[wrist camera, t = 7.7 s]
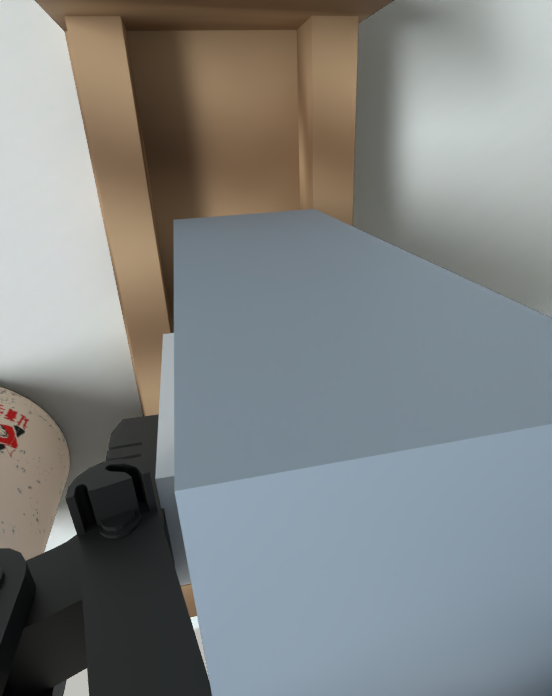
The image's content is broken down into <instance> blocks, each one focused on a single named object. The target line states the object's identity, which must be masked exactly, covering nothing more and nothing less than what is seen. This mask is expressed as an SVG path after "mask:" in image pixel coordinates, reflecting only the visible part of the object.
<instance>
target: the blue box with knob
mask: <svg viewBox="0 0 552 696" xmlns="http://www.w3.org/2000/svg"><path fill="white" fill-rule="evenodd" d="M174 492H175V497H176V503H177V508H178V514H179V519H180V524H181V530H182V535H183V541H184V546H185V552H186V557H187V562H188V568H189V573H190V579H191V584H192V589H193V595H194V600H195V606H196V611H197V617H198V622H199V627H200V633H201V638H202V644H203V649H204V654H205V660H206V665H207V671H208V676H209V682H210V687H211V692H212V696H552V318H551V317H548V316H546V315H544V314H542V313H540V312H538V311H535V310H533V309H531V308H529V307H527V306H525V305H522V304H520V303H518V302H516V301H514V300H511V299H509V298H507V297H505V296H503V295H501V294H498V293H496V292H494V291H492V290H490V289H488V288H485V287H483V286H481V285H479V284H477V283H475V282H472V281H470V280H468V279H466V278H464V277H461V276H459V275H457V274H455V273H453V272H451V271H448V270H446V269H444V268H442V267H440V266H438V265H435V264H433V263H431V262H429V261H427V260H424V259H422V258H420V257H418V256H416V255H414V254H411V253H409V252H407V251H405V250H403V249H401V248H398V247H396V246H394V245H392V244H390V243H388V242H385V241H383V240H381V239H379V238H377V237H374V236H372V235H370V234H368V233H366V232H364V231H361V230H359V229H357V228H355V227H353V226H351V225H348V224H346V223H344V222H342V221H340V220H337V219H335V218H333V217H331V216H329V215H327V214H324V213H322V212H320V211H318V210H316V209H307V210H294V211H281V212H268V213H254V214H241V215H228V216H215V217H202V218H189V219H176V220H174Z"/></svg>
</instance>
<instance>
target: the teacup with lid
mask: <svg viewBox="0 0 552 696" xmlns="http://www.w3.org/2000/svg"><path fill="white" fill-rule="evenodd" d="M69 467H70V456H69V450H68V446H67V443H66V440H65V438H64V436H63V434H62V432H61V430H60V428H59V427H58V425H57V424H56V423H55V421H54V420H53V419H52V418H51V417H50V416H49V415H48V414H47V413H46V412H45V411H44V410H43V409H42V408H40V407H39V406H38V405H36V404H35V403H34V402H32V401H30V400H29V399H27V398H25V397H23V396H21V395H19V394H17V393H15V392H13V391H10V390H8V389H5V388H2V387H0V548H11V549H13V550H16V551H18V552H20V553H21V554H22V555H23V557H24V559H25V561H26V560H28V559H31V558H33V557H35V556H38V555H40V554H42V553H44V551H45V548H46V544H47V541H48V538H49V535H50V532H51V528H52V525H53V522H54V519H55V516H56V513H57V509H58V506H59V503H60V500H61V497H62V493H63V490H64V487H65V484H66V481H67V478H68V473H69Z"/></svg>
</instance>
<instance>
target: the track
mask: <svg viewBox="0 0 552 696" xmlns="http://www.w3.org/2000/svg"><path fill="white" fill-rule="evenodd" d="M35 1H36V2H37V3H38V4H39V5H40V6H41V7H42V8H43V9H44V11H45V12H46V13H47V14H48V15H49V16H50V17H51V18H52V19H53V20H54V21H55V22H56V23H57V24H58V25H59V26H60V27H61V28H62V29H63V30H64V31H65V36H66V41H67V46H68V51H69V55H70V60H71V65H72V70H73V75H74V80H75V85H76V90H77V95H78V99H79V104H80V109H81V114H82V119H83V124H84V129H85V134H86V139H87V143H88V148H89V153H90V158H91V163H92V168H93V173H94V178H95V183H96V187H97V192H98V197H99V202H100V207H101V212H102V217H103V222H104V227H105V231H106V236H107V241H108V246H109V251H110V256H111V261H112V266H113V271H114V275H115V280H116V285H117V290H118V295H119V300H120V305H121V310H122V315H123V319H124V324H125V329H126V334H127V339H128V344H129V349H130V354H131V359H132V363H133V368H134V373H135V378H136V383H137V388H138V393H139V398H140V403H141V407H142V412H143V416H150V415H157V414H159V400H160V381H161V362H162V344H163V334H168V333H174V220H176V219H189V218H202V217H215V216H228V215H241V214H254V213H268V212H281V211H294V210H307V209H316V210H318V211H320V212H322V213H324V214H327V215H329V216H331V217H333V218H335V219H337V220H340V221H342V222H344V223H346V224H348V225H351V226H352V222H353V188H354V154H355V120H356V87H357V53H358V23H360V22H361V21H363V20H364V19H366V18H368V17H369V16H371V15H372V14H374V13H375V12H377V11H378V10H380V9H382V8H383V7H385V6H386V5H388V4H389V3H391V2H392V1H394V0H35ZM181 589H182V592H183V596H184V599H185V602H186V606H187V609H188V612H189V616H190V617H194V616H197V611H196V606H195V600H194V595H193V589H192V584H191V583H190V584H186V585H181Z"/></svg>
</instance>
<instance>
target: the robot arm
mask: <svg viewBox="0 0 552 696" xmlns="http://www.w3.org/2000/svg"><path fill="white" fill-rule="evenodd" d="M66 501H67V505H68V508H69V511H70V514H71V517H72V520H73V523H74V526H75V529H76V532H77V535H76V536H74V537H73V538H71V539H70V540H69V541H67V542H65V543H64V544H62V545H60V546H58V547H56V548H54V549H52V550H49V551H47V552H45V553H42V554H40V555H38V556H35V557H33V558H31V559H28V560H26V561H25V559H24V557H23V555H22V554H21V553H20V552H18V551H16V550H13V549H11V548H0V696H63V694H64V690H65V685H66V680H67V679H68V678H70V677H72V676H74V675H75V674H77V673H79V672H81V671H82V670H84V669H86V668H87V670H88V684H89V696H212V692H211V687H210V682H209V679H208V676H207V673H206V669H205V666H204V662H203V659H202V656H201V652H200V649H199V646H198V643H197V639H196V636H195V632H194V629H193V626H192V622H191V619H190V616H189V612H188V609H187V606H186V602H185V599H184V596H183V592H182V589H181V585H186V584H190V583H191V579H190V573H189V568H188V562H187V557H186V552H185V546H184V541H183V535H182V530H181V524H180V519H179V514H178V508H177V503H176V497H175V492H174V333H168V334H163V344H162V362H161V381H160V400H159V414H157V415H150V416H143V417H136V418H130V419H123V420H122V421H121V423H120V424H119V425H118V426H117V427H116V428H115V430H114V431H113V432H112V434H111V438H110V443H109V450H108V452H107V457H106V462H103V463H100V464H98V465H96V466H93V467H91V468H89V469H88V470H86V471H85V472H83V473H82V474H80V475H79V476H78V477H77V478H76V479H75V480H74V481H73V483H72V484H71V485H70V486H69V488H68V491H67V495H66Z"/></svg>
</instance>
